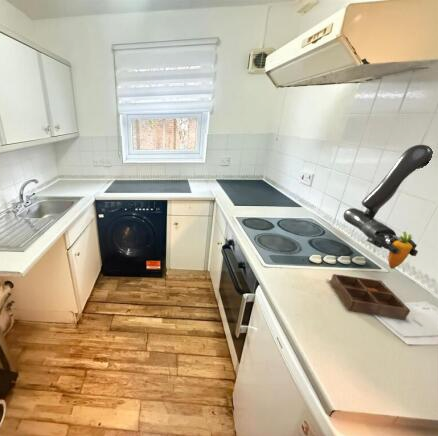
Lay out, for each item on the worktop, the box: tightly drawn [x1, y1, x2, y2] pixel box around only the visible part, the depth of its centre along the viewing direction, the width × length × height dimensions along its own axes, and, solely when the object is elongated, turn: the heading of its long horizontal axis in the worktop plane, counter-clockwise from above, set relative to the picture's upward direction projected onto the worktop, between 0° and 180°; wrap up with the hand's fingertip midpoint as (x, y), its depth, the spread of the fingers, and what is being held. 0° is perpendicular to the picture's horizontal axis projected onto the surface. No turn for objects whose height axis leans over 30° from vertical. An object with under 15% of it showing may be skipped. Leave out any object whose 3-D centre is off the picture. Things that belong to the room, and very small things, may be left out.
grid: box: [329, 273, 411, 321], centre depth 84 cm, size 15×15×4 cm
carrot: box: [387, 230, 413, 270], centre depth 86 cm, size 5×5×15 cm
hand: (405, 252), depth 84 cm, fingers closed on carrot, 4 cm apart
